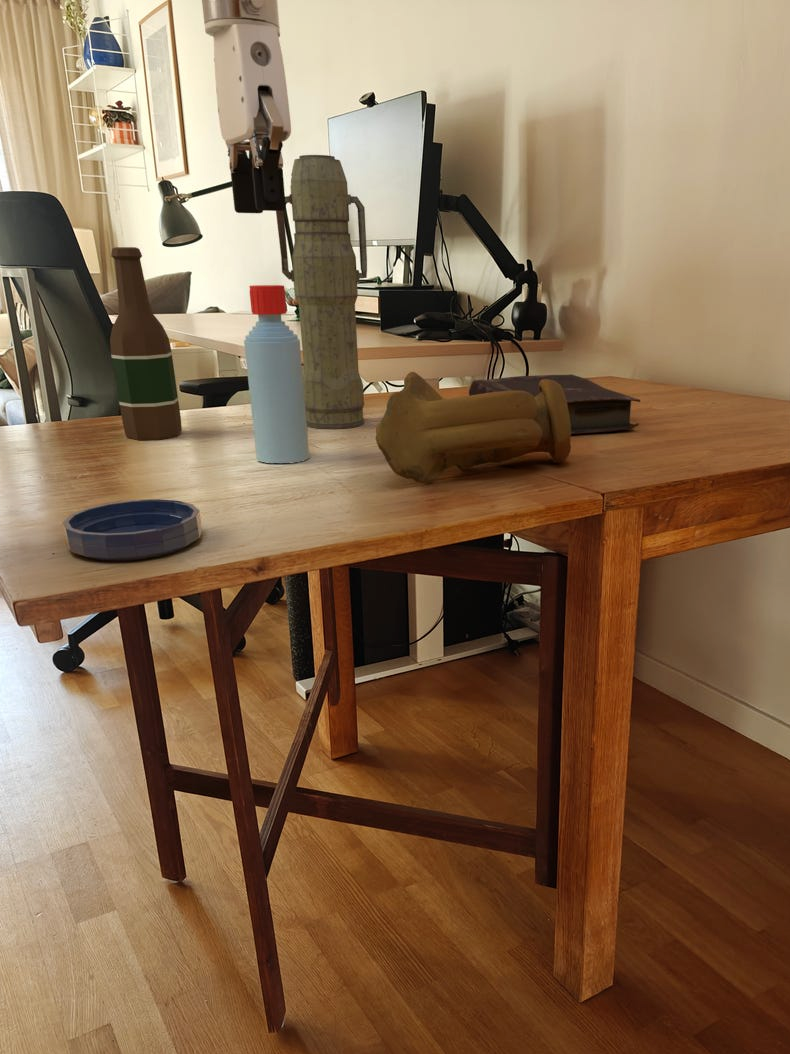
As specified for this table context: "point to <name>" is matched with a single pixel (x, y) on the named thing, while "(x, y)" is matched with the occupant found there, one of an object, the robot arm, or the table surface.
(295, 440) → the bottle
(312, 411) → the thermos
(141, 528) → the dish
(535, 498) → the table surface
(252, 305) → the cap
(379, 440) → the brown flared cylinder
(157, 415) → the beer bottle
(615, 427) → the diary
